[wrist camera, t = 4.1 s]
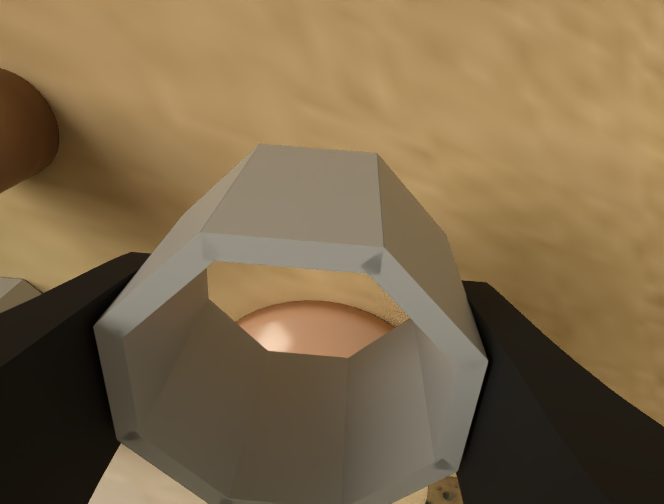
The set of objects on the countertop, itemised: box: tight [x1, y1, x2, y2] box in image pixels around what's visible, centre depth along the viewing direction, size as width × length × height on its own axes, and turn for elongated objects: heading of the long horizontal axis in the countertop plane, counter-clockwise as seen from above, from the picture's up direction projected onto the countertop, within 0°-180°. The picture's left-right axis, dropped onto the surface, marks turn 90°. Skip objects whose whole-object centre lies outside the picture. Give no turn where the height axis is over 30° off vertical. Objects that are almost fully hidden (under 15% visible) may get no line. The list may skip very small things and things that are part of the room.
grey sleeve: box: [93, 144, 488, 504], centre depth 9 cm, size 6×6×4 cm
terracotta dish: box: [236, 301, 394, 358], centre depth 21 cm, size 10×10×1 cm
